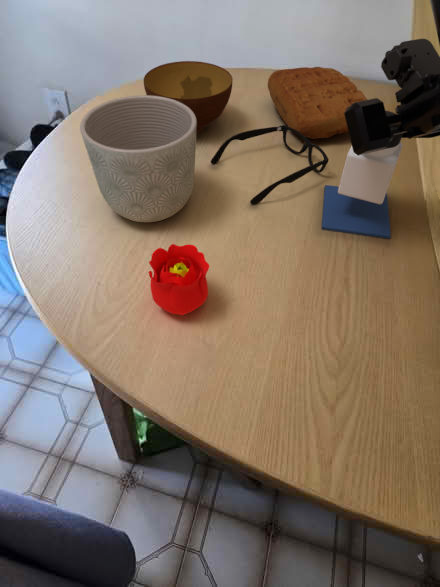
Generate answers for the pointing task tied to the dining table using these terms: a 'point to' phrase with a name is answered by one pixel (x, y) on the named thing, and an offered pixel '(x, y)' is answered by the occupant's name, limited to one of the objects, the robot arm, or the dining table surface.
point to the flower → (179, 278)
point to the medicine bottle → (370, 171)
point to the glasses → (284, 129)
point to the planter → (142, 154)
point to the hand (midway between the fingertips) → (372, 137)
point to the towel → (354, 215)
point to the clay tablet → (313, 99)
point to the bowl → (192, 87)
